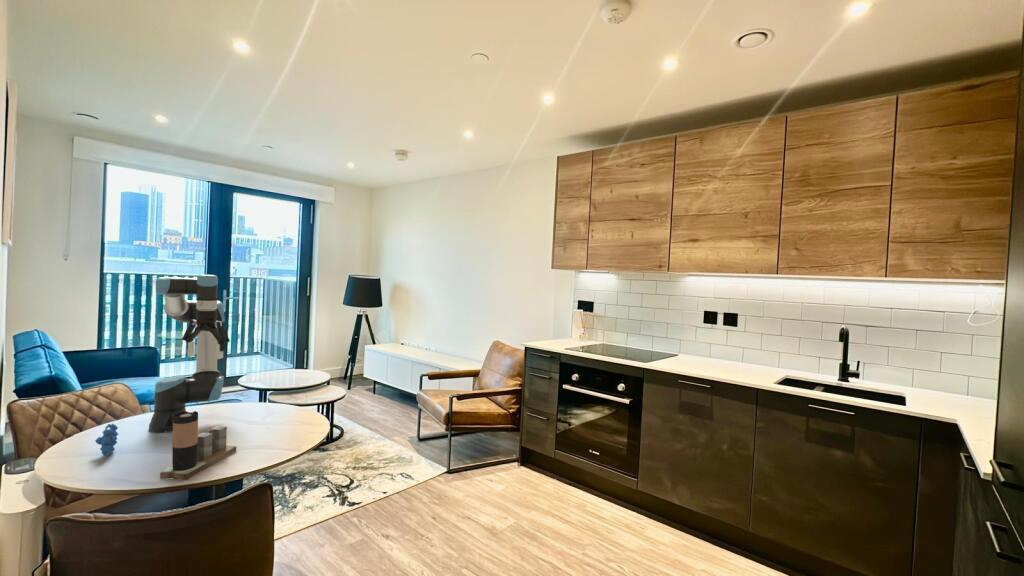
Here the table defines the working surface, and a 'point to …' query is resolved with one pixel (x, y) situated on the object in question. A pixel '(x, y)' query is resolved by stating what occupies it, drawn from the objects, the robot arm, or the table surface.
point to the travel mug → (184, 440)
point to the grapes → (108, 439)
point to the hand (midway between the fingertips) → (205, 357)
